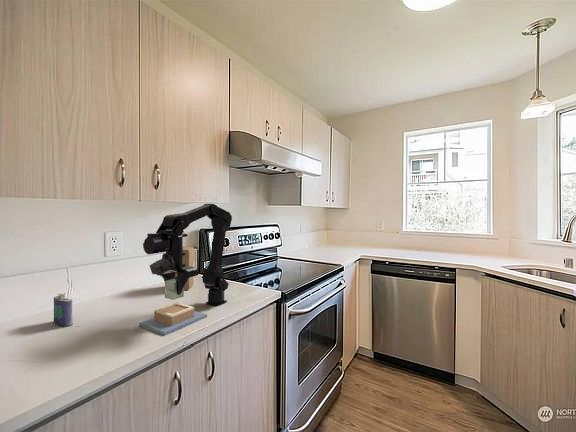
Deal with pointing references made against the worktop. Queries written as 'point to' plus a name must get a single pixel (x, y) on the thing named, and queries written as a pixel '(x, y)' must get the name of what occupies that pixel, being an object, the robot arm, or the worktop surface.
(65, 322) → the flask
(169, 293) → the sage block
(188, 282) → the wooden block
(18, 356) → the worktop surface
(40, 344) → the worktop surface
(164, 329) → the build base
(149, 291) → the worktop surface
